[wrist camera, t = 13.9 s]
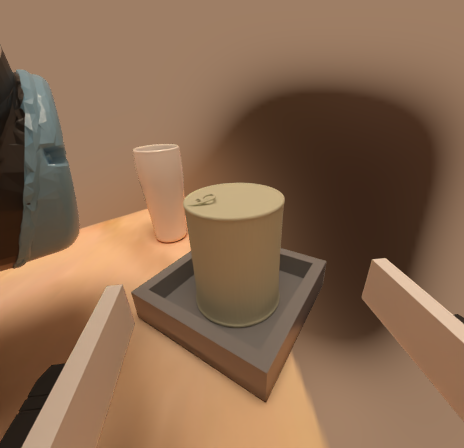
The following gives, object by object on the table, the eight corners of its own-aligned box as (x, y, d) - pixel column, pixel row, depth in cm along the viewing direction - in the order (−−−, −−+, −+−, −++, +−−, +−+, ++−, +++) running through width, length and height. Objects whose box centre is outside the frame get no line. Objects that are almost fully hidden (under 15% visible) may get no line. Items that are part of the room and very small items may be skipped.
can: (189, 279, 29) (174, 185, 24) (257, 262, 32) (257, 174, 27) (207, 341, 21) (192, 221, 16) (296, 311, 24) (307, 200, 19)
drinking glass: (150, 249, 38) (128, 152, 31) (153, 230, 44) (135, 145, 37) (192, 242, 39) (180, 148, 33) (189, 225, 45) (178, 142, 39)
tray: (138, 317, 26) (131, 292, 24) (221, 250, 37) (220, 230, 35) (265, 402, 18) (266, 373, 16) (322, 285, 29) (326, 261, 27)
